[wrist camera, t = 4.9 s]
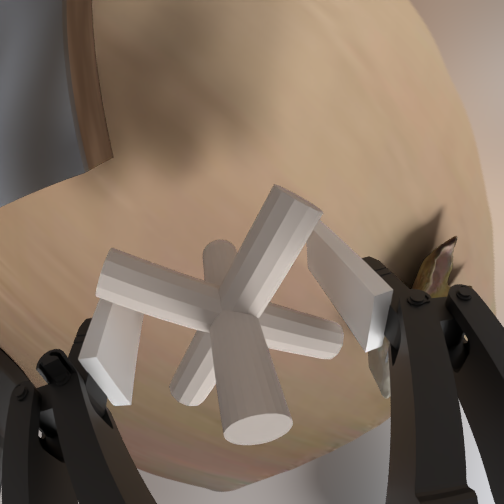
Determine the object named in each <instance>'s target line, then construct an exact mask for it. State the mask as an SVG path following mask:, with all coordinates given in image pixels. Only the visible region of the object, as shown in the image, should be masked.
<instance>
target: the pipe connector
mask: <svg viewBox="0 0 504 504" xmlns="http://www.w3.org/2000/svg"><path fill="white" fill-rule="evenodd" d="M322 214H323V212H322V211H321V209H319V208H318V207H316V206H315V205H313V204H312V203H310V202H309V201H307V200H305V199H304V198H302V197H300V196H299V195H297V194H295V193H293V192H291V191H289V190H287V189H285V188H283V187H281V186H278V185H275V184H274V186H273V187H272V189H271V191H270V193H269V195H268V197H267V199H266V200H265V202H264V204H263V206H262V208H261V210H260V212H259V214H258V215H257V217H256V219H255V221H254V223H253V225H252V227H251V229H250V230H249V232H248V234H247V236H246V238H245V240H244V242H243V244H242V245H241V247H240V249H239V251H238V253H237V251H236V248H235V247H234V245H233V244H232V243H230V242H229V241H226V240H215V241H212V242H211V243H209V244H208V245H207V246H206V247H205V249H204V251H203V267H204V279H205V281H203V280H200V279H197V278H195V277H192V276H189V275H186V274H183V273H180V272H177V271H175V270H172V269H169V268H166V267H163V266H161V265H158V264H155V263H152V262H150V261H147V260H144V259H141V258H139V257H136V256H133V255H131V254H128V253H125V252H123V251H120V250H118V249H115V248H111V249H110V250H109V253H108V255H107V257H106V259H105V262H104V265H103V268H102V271H101V274H100V277H99V281H98V285H97V290H96V297H98V298H101V299H104V300H106V301H109V302H112V303H115V304H117V305H120V306H123V307H126V308H129V309H132V310H135V311H138V312H140V313H143V314H146V315H150V316H153V317H156V318H159V319H162V320H165V321H168V322H172V323H175V324H178V325H182V326H185V327H188V328H192V329H195V330H197V332H196V334H195V335H194V337H193V339H192V341H191V343H190V345H189V347H188V349H187V351H186V353H185V355H184V357H183V359H182V361H181V363H180V365H179V367H178V369H177V371H176V373H175V375H174V377H173V379H172V381H171V383H170V386H169V388H170V391H171V394H172V396H173V397H174V398H175V399H176V400H177V401H178V402H180V403H182V404H185V405H187V406H198V405H199V404H200V403H202V402H203V401H204V400H205V398H206V397H207V396H208V394H209V393H210V391H211V390H212V388H213V387H214V385H215V384H216V386H217V393H218V400H219V407H220V414H221V420H222V427H223V433H224V437H225V439H226V440H228V441H229V442H231V443H234V444H239V445H255V444H262V443H266V442H269V441H272V440H275V439H277V438H279V437H281V436H283V435H284V434H285V433H287V432H288V431H289V430H290V429H291V427H292V425H293V421H292V418H291V415H290V412H289V409H288V406H287V403H286V400H285V397H284V394H283V391H282V388H281V385H280V382H279V379H278V377H277V374H276V371H275V368H274V365H273V362H272V359H271V356H270V353H269V350H268V348H271V349H275V350H280V351H285V352H290V353H295V354H300V355H305V356H310V357H316V358H321V359H332V358H333V357H334V356H336V355H337V354H338V353H339V351H340V349H341V347H342V345H343V338H344V333H343V330H342V327H341V325H339V324H338V323H337V322H334V321H331V320H327V319H324V318H320V317H317V316H314V315H310V314H307V313H303V312H300V311H297V310H293V309H290V308H287V307H284V306H280V305H277V304H274V303H271V302H270V300H271V298H272V297H273V295H274V294H275V292H276V290H277V289H278V287H279V286H280V284H281V282H282V281H283V279H284V278H285V276H286V274H287V273H288V271H289V269H290V268H291V266H292V264H293V263H294V261H295V260H296V258H297V256H298V255H299V253H300V251H301V250H302V248H303V246H304V245H305V243H306V241H307V239H308V238H309V236H310V234H311V233H312V231H313V229H314V228H315V226H316V224H317V223H318V221H319V219H320V217H321V216H322Z"/></svg>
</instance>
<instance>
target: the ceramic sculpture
mask: <svg viewBox="0 0 504 504" xmlns="http://www.w3.org/2000/svg"><path fill="white" fill-rule="evenodd" d="M456 241H457V236H454V237H453V238H451V239H449V240H448V241H446V242H445V243H443V244H442V245H440V246H439V247H438V248H437V249H435V250H434V251H433V252H432V253H431V254H430V255H429V256H427V257H426V258H425V260H424V261H423V263H422V264H421V267H420V269H419V272H418V274H417V277H416V279H415V281H414V284H413V286H412V289H418V290H422V291H424V292H426V293H428V294H429V295H430V296H431V298H438V297H447V295H448V292H449V289H450V288H451V287H449V286H448V284H447V281H448V279H449V275H450V272H451V270H452V266H453V251H454V247H455V244H456ZM468 287H470V288H472V286H468ZM389 343H390V342H389V340H388V339H387V338H386V337H385V335H384V340H383V344H382V346H381V347H378V348H376V349H373V350H371V351H368V358H369V368H370V370H371V372H372V374H373V377H374V379H375V381H376V383H377V385H378V387H379V389H380V391H381V394H382V395H383V397H384V398H389V397H390V396H391V395H390V371H389V358H388V362H387V363H385V358H386V354H387V351H388V347H389Z"/></svg>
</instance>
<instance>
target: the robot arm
mask: <svg viewBox="0 0 504 504" xmlns="http://www.w3.org/2000/svg"><path fill="white" fill-rule="evenodd" d="M307 259H308V269H309V270H310V272H311V273H312V274H313V276H314V277H315V279H316V280H317V282H318V283H319V284H320V286H321V287H322V289H323V290H324V292H325V293H326V295H327V296H328V297H329V299H330V300H331V302H332V303H333V305H334V306H335V308H336V309H337V311H338V312H339V314H340V315H341V317H342V318H343V320H344V321H345V323H346V324H347V325H348V327H349V328H350V330H351V331H352V333H353V334H354V336H355V337H356V339H357V341H358V342H359V344H360V345H361V347H362V348H363V350H364V351H365V352H368V351H371V350H373V349H376V348H378V347H381V346H382V344H383V340H384V335H385V337H386V338H387V339H388V340H389V342H390V343H389V347H388V351H387V354H386V358H385V363H387V362H388V358H389V371H390V395H391V440H390V462H389V475H388V487H387V496H386V504H478V500H477V495H476V493H475V491H474V490H472V489H471V488H469V487H468V485H467V481H466V460H465V447H464V436H463V427H462V419H461V413H460V406H459V401H460V403H461V405H462V408H463V410H464V413H465V415H466V417H467V420H468V423H469V425H470V427H471V430H472V433H473V436H474V438H475V441H476V444H477V446H478V449H479V452H480V455H481V458H482V461H483V464H484V468H485V471H486V474H487V478H488V481H489V485H490V489H491V492H492V495H493V498H494V502H495V504H504V327H503V326H502V325H501V323H500V322H499V321H498V319H497V318H496V317H495V315H494V314H493V313H492V311H491V310H490V309H489V307H488V306H487V305H486V304H485V302H484V301H483V300H482V299H481V297H480V296H479V295H478V294H477V293H476V291H474V290H473V289H472V288H470V287H468V286H466V285H462V284H459V285H454V286H452V287H451V288H450V289H449V292H448V295H447V297H438V298H431V296H430V295H429V294H428V293H426V292H424V291H422V290H418V289H409V288H408V287H407V286H406V285H405V284H404V283H403V282H402V281H400V280H399V279H398V278H397V277H396V276H395V275H394V274H393V273H391V271H390V270H389V269H388V268H386V267H385V266H384V265H383V264H382V263H381V262H380V261H379V260H376V259H374V258H372V257H370V256H369V257H365V258H361V257H360V256H359V255H357V254H356V253H355V252H354V251H353V250H352V249H351V248H350V247H349V246H348V245H347V244H346V243H345V242H344V241H343V240H342V239H341V238H339V237H338V236H337V235H336V234H335V233H334V232H333V231H332V230H331V229H330V228H329V227H327V226H326V225H325V224H324V223H323V222H322V221H321V220H320V219H319V221H318V223H317V224H316V226H315V228H314V229H313V231H312V233H311V234H310V236H309V238H308V239H307ZM143 316H144V314H143V313H140V312H138V311H135V310H132V309H129V308H126V307H123V306H120V305H117V304H115V303H112V302H109V301H106V300H104V299H101V298H100V300H99V302H98V305H97V307H96V310H95V312H94V315H93V318H89V319H86V320H85V321H84V322H83V323H82V325H81V326H80V327H79V330H78V332H77V335H76V337H75V340H74V344H73V345H72V348H71V351H70V354H69V356H68V357H67V356H66V355H65V353H64V352H63V351H62V350H60V349H54V350H51V351H49V352H47V353H45V354H44V355H43V356H42V357H41V358H40V360H39V361H38V363H37V367H36V370H37V371H38V372H39V373H40V375H41V376H42V377H43V378H44V380H45V381H46V382H47V383H48V384H47V385H45V386H42V387H39V388H36V387H35V386H34V385H33V384H32V382H30V381H29V380H28V378H27V377H26V376H25V374H24V373H23V372H22V371H21V370H20V369H19V367H18V366H17V365H16V364H15V363H14V362H13V361H12V360H11V359H10V358H9V357H8V356H7V355H6V354H4V353H3V352H2V351H1V350H0V493H1V486H2V504H78V502H79V504H157V503H156V502H155V500H154V498H153V496H152V495H151V493H150V492H149V490H148V488H147V486H146V484H145V483H144V481H143V479H142V477H141V475H140V474H139V472H138V470H137V468H136V466H135V464H134V462H133V460H132V458H131V456H130V454H129V452H128V450H127V448H126V446H125V444H124V442H123V440H122V437H121V435H120V433H119V431H118V428H117V426H116V424H115V421H114V419H113V417H112V414H111V412H110V411H109V409H108V408H107V407H106V402H107V398H108V399H109V400H110V402H111V403H112V404H113V405H114V406H121V405H131V403H132V393H133V384H134V376H135V368H136V360H137V353H138V346H139V340H140V334H141V328H142V322H143ZM464 335H466V337H467V338H468V341H466V340H465V338H464ZM458 399H459V401H458ZM39 430H40V431H41V432H42V437H41V438H40V437H39V436H38V432H39Z"/></svg>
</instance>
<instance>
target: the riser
mask: <svg viewBox="0 0 504 504" xmlns="http://www.w3.org/2000/svg"><path fill="white" fill-rule="evenodd" d="M111 158H113V153H112V149H111V144H110V140H109V135H108V130H107V125H106V120H105V115H104V109H103V104H102V98H101V92H100V85H99V78H98V71H97V63H96V54H95V45H94V33H93V19H92V0H0V207H2V206H4V205H6V204H8V203H11V202H13V201H15V200H17V199H19V198H22V197H24V196H26V195H29V194H31V193H33V192H36V191H38V190H40V189H43V188H45V187H48V186H50V185H53V184H56V183H58V182H61V181H63V180H66V179H69V178H72V177H74V176H77V175H80V174H83V173H85V172H87V171H89V170H91V169H93V168H94V167H96V166H98V165H100V164H102V163H104V162H105V161H107V160H109V159H111Z"/></svg>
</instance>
